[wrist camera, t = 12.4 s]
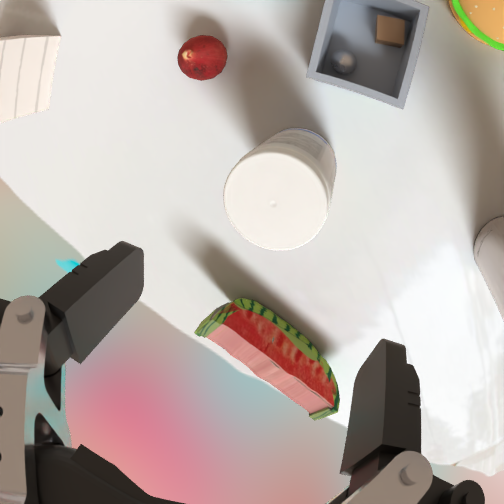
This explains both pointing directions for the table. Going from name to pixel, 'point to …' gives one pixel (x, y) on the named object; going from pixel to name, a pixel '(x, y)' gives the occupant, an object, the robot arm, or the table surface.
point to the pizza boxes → (26, 74)
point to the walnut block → (389, 31)
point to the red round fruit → (202, 57)
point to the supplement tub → (282, 190)
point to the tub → (369, 47)
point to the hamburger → (481, 20)
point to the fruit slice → (274, 354)
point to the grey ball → (343, 61)
